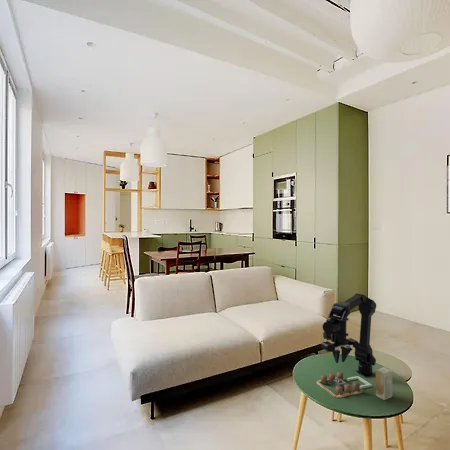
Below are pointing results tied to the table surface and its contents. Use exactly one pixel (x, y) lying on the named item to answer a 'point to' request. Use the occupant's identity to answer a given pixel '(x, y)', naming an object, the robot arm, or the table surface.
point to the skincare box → (384, 383)
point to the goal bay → (361, 381)
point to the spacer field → (338, 388)
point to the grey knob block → (339, 383)
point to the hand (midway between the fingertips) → (339, 362)
